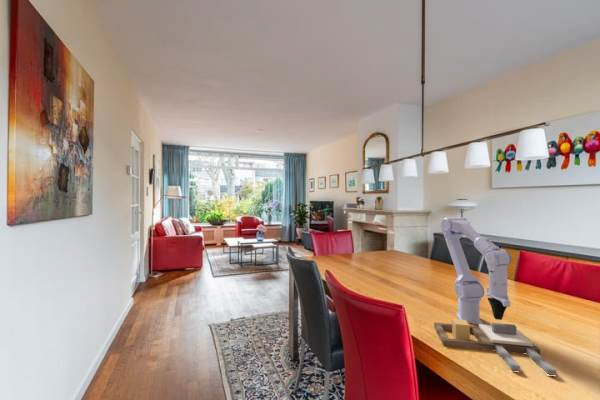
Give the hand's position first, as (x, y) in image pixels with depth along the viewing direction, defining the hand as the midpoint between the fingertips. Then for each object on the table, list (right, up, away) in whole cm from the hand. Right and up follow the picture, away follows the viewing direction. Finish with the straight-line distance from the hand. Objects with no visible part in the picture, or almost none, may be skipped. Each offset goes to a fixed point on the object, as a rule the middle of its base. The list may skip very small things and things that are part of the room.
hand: (498, 318), depth 107 cm
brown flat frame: (-9, -6, -9) cm, 14 cm away
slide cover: (-1, -4, -5) cm, 6 cm away
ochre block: (-15, -7, -2) cm, 16 cm away
